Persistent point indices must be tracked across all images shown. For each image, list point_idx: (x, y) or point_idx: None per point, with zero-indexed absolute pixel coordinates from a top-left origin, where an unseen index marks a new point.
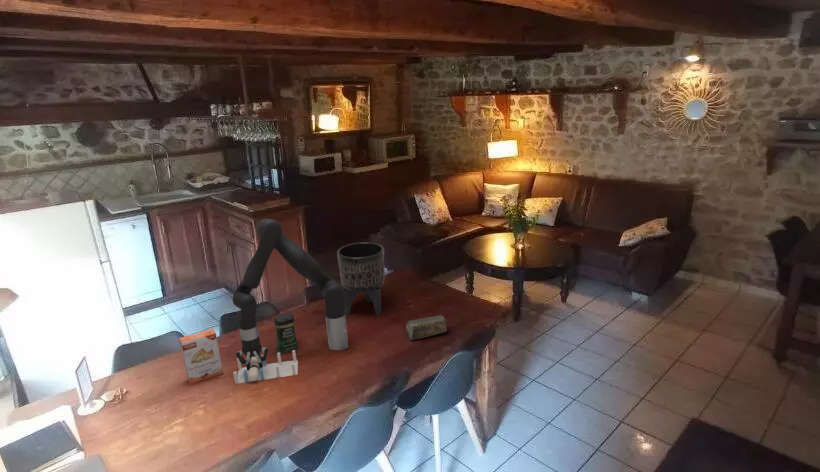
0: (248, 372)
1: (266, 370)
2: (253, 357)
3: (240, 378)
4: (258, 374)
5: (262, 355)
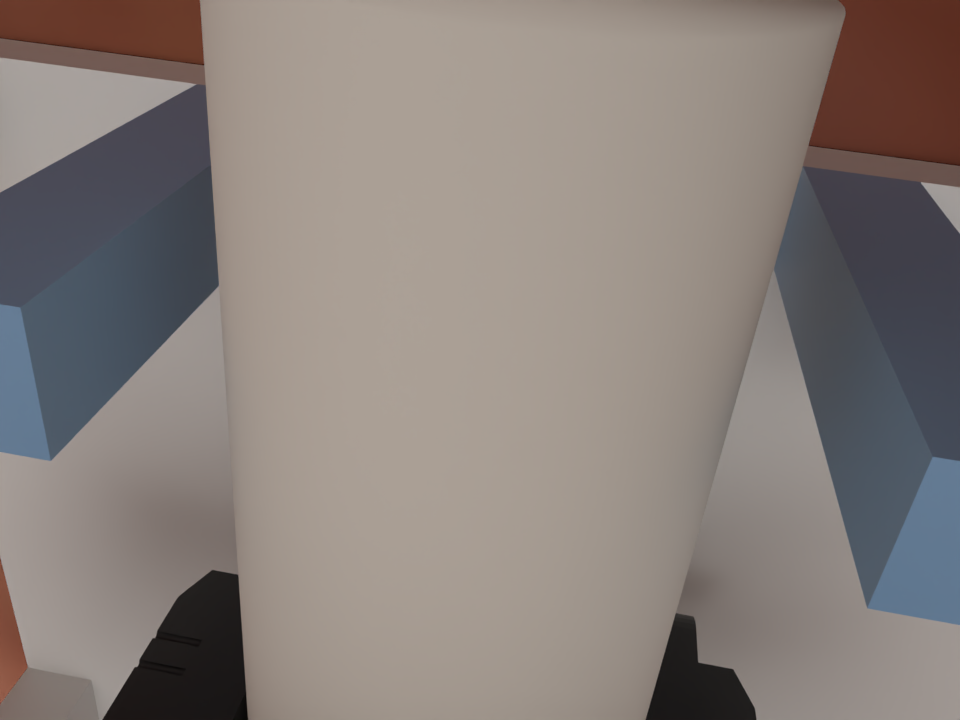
0: None
1: (825, 554)
2: (319, 553)
3: (100, 595)
4: None
5: (935, 566)
